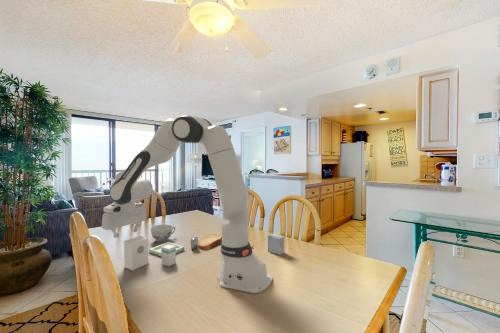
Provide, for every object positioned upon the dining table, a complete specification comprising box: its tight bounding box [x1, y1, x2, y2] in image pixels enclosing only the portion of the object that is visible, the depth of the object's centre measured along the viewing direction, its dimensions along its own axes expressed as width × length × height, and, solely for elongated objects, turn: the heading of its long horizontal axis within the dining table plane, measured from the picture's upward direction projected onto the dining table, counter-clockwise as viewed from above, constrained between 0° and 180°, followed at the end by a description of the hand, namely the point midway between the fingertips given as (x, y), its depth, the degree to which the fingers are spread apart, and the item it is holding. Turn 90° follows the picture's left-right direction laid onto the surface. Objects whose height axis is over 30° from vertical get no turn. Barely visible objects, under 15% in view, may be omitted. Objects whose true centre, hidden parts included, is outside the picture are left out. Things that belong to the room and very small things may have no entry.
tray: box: [148, 241, 185, 258], centre depth 124 cm, size 13×12×2 cm
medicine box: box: [267, 233, 285, 256], centre depth 123 cm, size 8×4×9 cm, turn 47°
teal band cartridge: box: [161, 244, 177, 267], centre depth 110 cm, size 5×4×8 cm
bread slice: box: [198, 233, 222, 251], centre depth 136 cm, size 18×18×4 cm
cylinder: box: [190, 236, 199, 251], centre depth 127 cm, size 4×4×6 cm
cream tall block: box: [123, 235, 150, 271], centre depth 108 cm, size 7×8×12 cm
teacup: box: [150, 224, 176, 243], centre depth 141 cm, size 15×12×8 cm
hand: (126, 234), depth 112 cm, fingers open, 8 cm apart
